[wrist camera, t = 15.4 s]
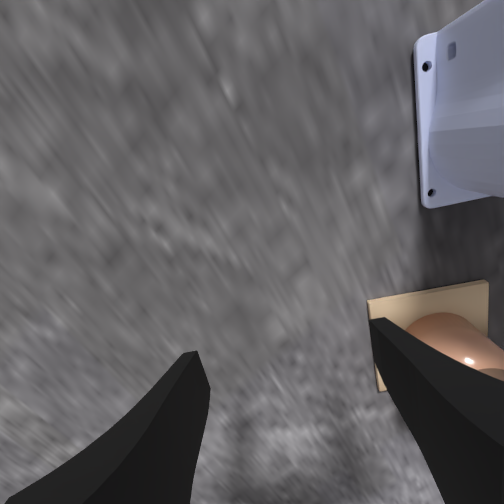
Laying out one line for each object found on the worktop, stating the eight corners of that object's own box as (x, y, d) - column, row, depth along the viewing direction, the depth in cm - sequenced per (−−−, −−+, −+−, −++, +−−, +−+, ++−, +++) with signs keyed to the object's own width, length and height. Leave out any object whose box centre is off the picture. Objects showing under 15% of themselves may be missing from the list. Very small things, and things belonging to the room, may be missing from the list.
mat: (366, 300, 22) (369, 303, 21) (483, 279, 21) (488, 282, 20) (377, 386, 24) (379, 391, 24) (482, 371, 23) (486, 375, 23)
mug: (395, 319, 22) (432, 368, 17) (477, 306, 21) (539, 352, 16) (402, 412, 24) (436, 476, 20) (475, 402, 24) (528, 466, 19)
